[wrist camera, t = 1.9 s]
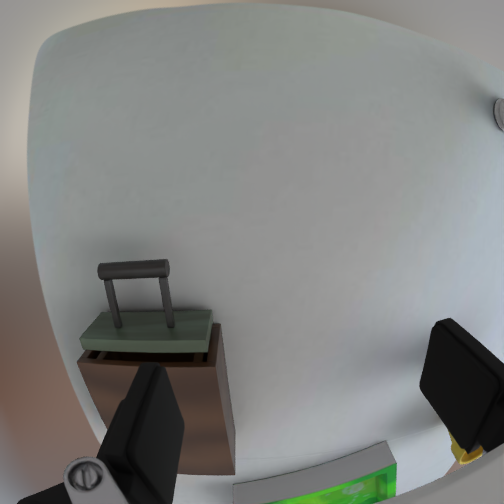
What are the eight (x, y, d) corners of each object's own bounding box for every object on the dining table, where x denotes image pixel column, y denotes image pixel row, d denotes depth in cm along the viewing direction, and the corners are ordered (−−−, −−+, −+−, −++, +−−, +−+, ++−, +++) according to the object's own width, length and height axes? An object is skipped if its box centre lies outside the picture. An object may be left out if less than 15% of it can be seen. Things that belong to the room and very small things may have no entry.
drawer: (88, 255, 25) (60, 273, 20) (204, 247, 26) (196, 266, 21) (138, 419, 31) (127, 449, 26) (228, 422, 32) (227, 455, 26)
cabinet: (104, 324, 28) (76, 362, 22) (220, 323, 29) (215, 366, 22) (142, 429, 33) (129, 468, 26) (235, 432, 33) (235, 475, 26)
